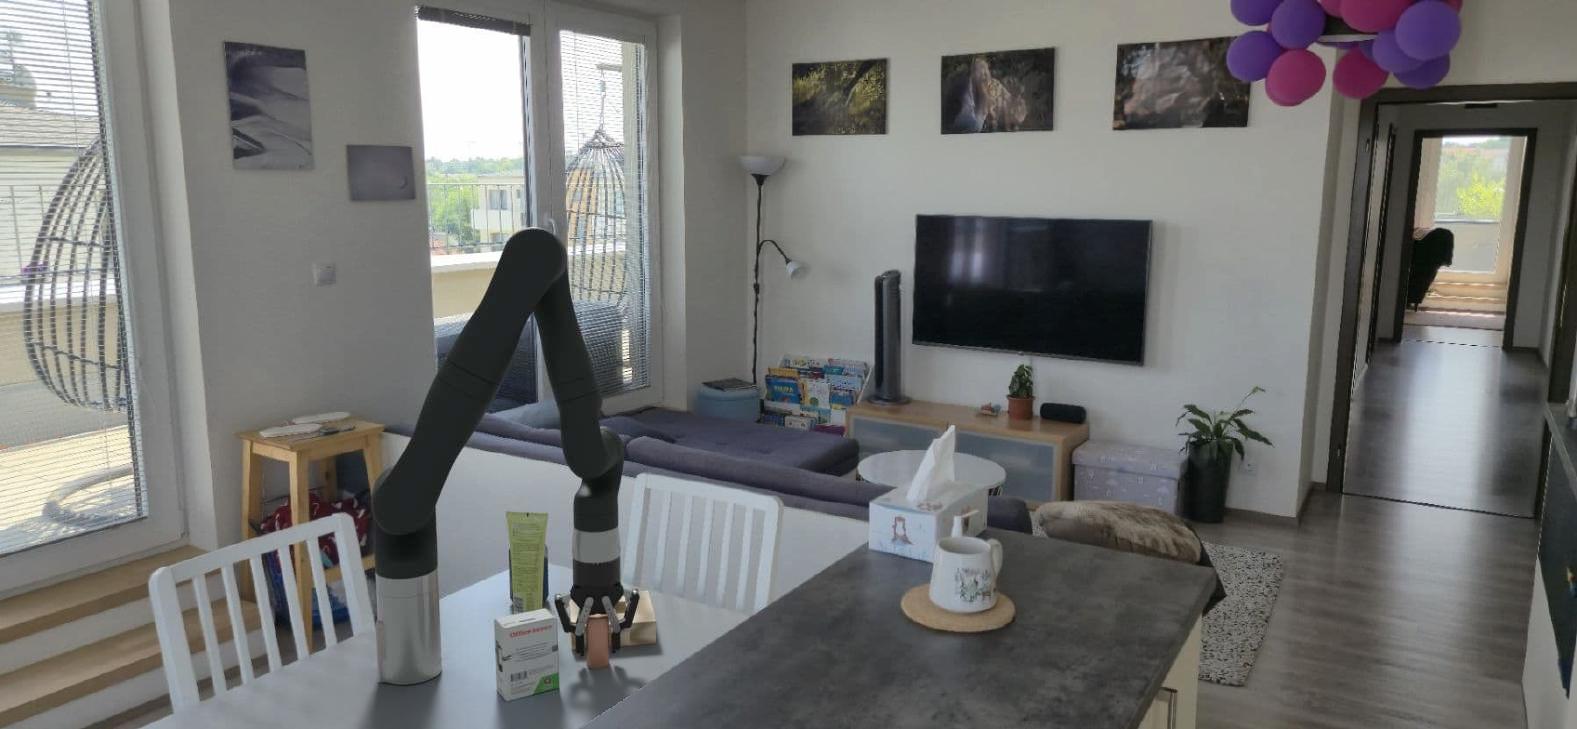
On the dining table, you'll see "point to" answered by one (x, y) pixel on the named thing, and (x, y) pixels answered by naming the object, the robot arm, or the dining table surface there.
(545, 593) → the soda can
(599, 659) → the peg
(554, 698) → the dining table surface
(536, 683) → the ink box
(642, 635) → the socket
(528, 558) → the tube
